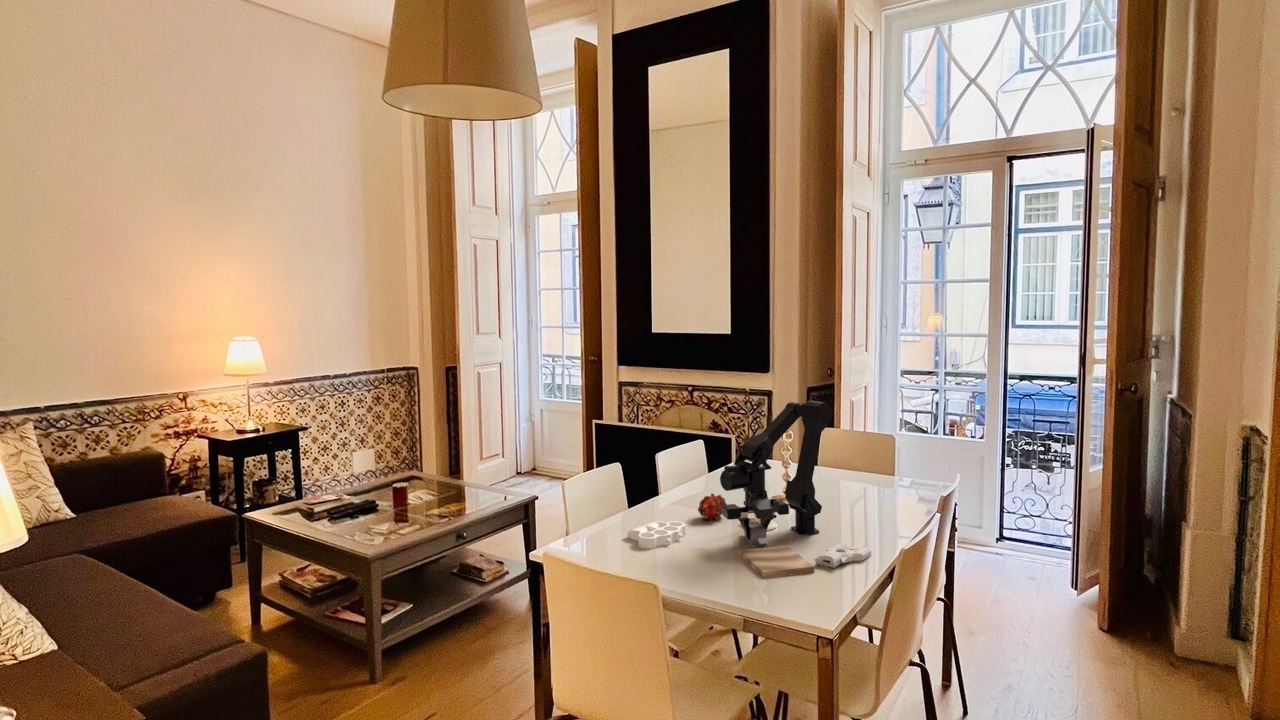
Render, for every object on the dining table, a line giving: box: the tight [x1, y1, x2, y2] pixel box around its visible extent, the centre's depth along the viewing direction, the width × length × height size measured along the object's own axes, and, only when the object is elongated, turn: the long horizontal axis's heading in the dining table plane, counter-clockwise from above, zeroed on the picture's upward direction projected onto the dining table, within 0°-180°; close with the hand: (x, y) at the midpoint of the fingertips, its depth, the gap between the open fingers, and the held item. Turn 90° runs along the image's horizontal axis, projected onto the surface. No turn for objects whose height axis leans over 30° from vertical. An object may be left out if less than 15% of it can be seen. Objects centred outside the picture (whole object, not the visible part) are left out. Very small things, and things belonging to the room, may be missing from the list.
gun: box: [813, 543, 872, 569], centre depth 188 cm, size 18×4×10 cm
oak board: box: [739, 545, 815, 579], centre depth 186 cm, size 16×14×2 cm
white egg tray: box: [626, 520, 687, 549], centre depth 207 cm, size 3×18×15 cm
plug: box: [744, 519, 770, 549], centre depth 202 cm, size 14×4×5 cm, turn 13°
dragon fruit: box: [697, 493, 728, 521], centre depth 225 cm, size 8×8×12 cm
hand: (755, 538), depth 202 cm, fingers closed on plug, 4 cm apart
